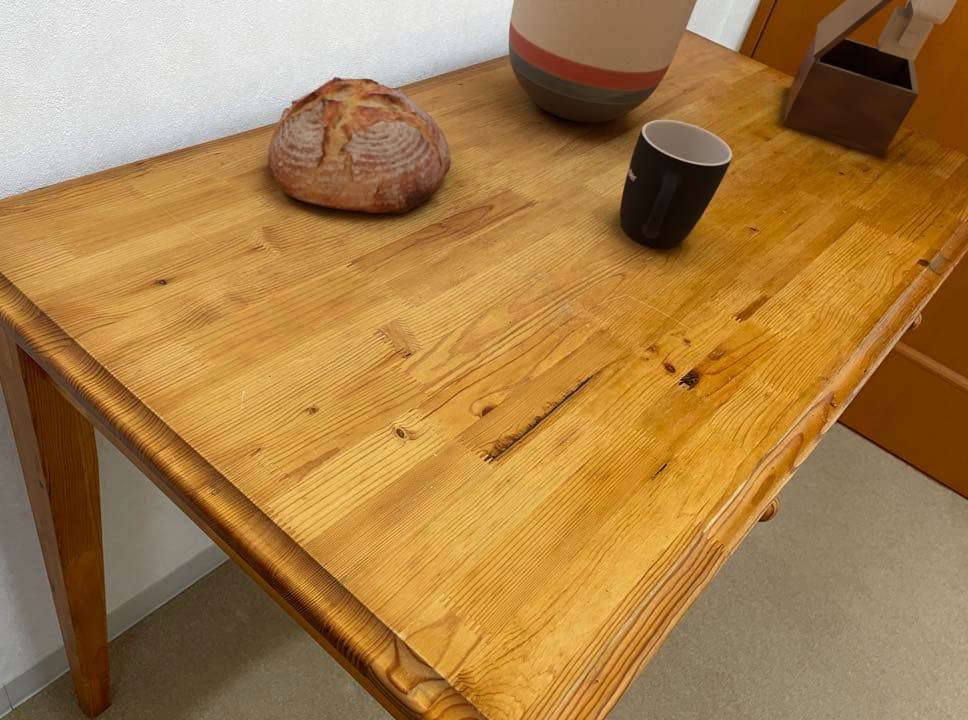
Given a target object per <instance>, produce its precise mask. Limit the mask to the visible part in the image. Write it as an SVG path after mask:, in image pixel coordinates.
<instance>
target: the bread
mask: <svg viewBox="0 0 968 720" xmlns="http://www.w3.org/2000/svg"><path fill="white" fill-rule="evenodd" d="M446 138H447V137H446V136H445V134H444V132H443V130H442V128H441V127H440V126H439V124H438V122H437V121H436V120H435V119H434V118H433V116H432V115H430V114H429V113H428V112H427V111H426V110H425V109H423V108H422V107H421V106H420V105H419V104H417V102H415V101H413V100H412V99H411V98H410V97H409V95H407V94H406V92H405V91H404V90H402V89H401V88H394V87H393V88H392V87H389V86H386V85H384V84H380V83H379V82H377V81H375V80H374V79H372V78H348V77H347V78H345V77H344V78H341V77H338V76H334V77H333V78H332V79H329V80H328V81H326V82H324V83H323V84H322V85H320V86H319V87H318V88H316V89H314V90H313V91H311V92H307V93H306V94H304V95H302V96H301V97H300V98H297V99H294V100H292V101H291V106H289V107H286V108H285V109H283V111H282V113H281V115H280V118H279V120H278V122H277V123H276V125H275V129H274V131H273V132H272V136H271V138H270V142H269V143H270V144H269V147H268V151H267V152H268V155H267V163H268V166H269V168H270V171H271V173H272V175H273V180H274V181H275V183H276V185H277V187H278V188H279V189H280V190H281V191H282V192H283V193H284V194H287V195H288V196H290V197H292V198H294V199H296V200H298V201H301V202H305V203H307V204H311V205H315V206H318V207H322V208H329V209H334V210H343V211H352V212H363V213H366V214H395V215H396V214H398V215H402V214H406V213H407V212H408V211H409V210H411V209H413V208H415V207H417V206H419V205H421V204H422V203H423V202H424V201H426V200H427V199H429V198H430V197H431V196H432V195H433V194H434V193H435V191H436V190H437V189H438V188H439V186H440V185H441V183H442V182H443V180H444V177H445V176H446V175H447V174H448V172H449V171H450V168H451V164H452V158H451V153H450V148H449V144H448V141H447V139H446Z"/></svg>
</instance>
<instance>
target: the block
mask: <svg viewBox="0 0 968 720" xmlns="http://www.w3.org/2000/svg"><path fill="white" fill-rule="evenodd" d="M912 13H913V11H912V10H908V9H905V7H901V6H899V5H896V6H895V8H894V10H893V12H892V14H891V16H890V18H889V19H888V21H887V23H886V25H885V27H884V29H883V30H882V33H881V34H880V36H879V38H878V40H877V43H878V45H877V46H878V47H877V48H879V51H881V52H885V53H888V54H891V55H894V56H898V57H901V58H904V59H907V60H911V61H915V60H916V58H917V56H918V55H919V53H920V51H921V50H922V47H923V46H924V44H925V42H926V41H927V39H928V37H929V35H930V33H931V32H932V30H933V28H934V26H935V25H934V23H931V22H929V23H928V25H927V26H926V27H925V28H924V30H923V31H922V32H921V33H920V34H919V36H918V37H917V39H916V41H915V43H914V44H913V46H912V47H911V48H906V47H903V46H900V45H899V44H898V39H899V37H900V35H901V33H902V31H903V29H904V28H905V27H906V25H907V24H908V22H909V20H910V18H911V15H912Z"/></svg>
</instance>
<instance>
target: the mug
mask: <svg viewBox="0 0 968 720" xmlns="http://www.w3.org/2000/svg"><path fill="white" fill-rule="evenodd" d="M732 160H733V151H732V149H731V148H730V146H729V145H728V144H727V142H725V141H724V140H723V139H722V138H720V137H719V136H717V135H716V134H714V133H713V132H711V131H708V130H706V129H704V128H702V127H700V126H697V125H694V124H690V123H687V122H682V121H679V120H672V119H657V120H656V119H655V120H651V121H649V122H647V123H645V124H644V125H643V126H642V128H641V130H640V132H639V134H638V137H637V140H636V143H635V146H634V149H633V152H632V156H631V160H630V163H629V166H628V170H627V173H626V177H625V181H624V185H623V190H622V195H621V201H620V207H619V223H620V227H621V229H622V230H623V232H624V234H625V235H627V236H628V237H629V238H630V239H631V240H633V241H635V242H637V243H638V244H641V245H643V246H646V247H648V248H653V249H658V250H659V249H661V250H662V249H663V250H665V249H666V250H667V249H673V248H675V247H677V246H678V245H680V244H681V243H682V242H683V241H685V239H686V238H687V237H688V236H689V235H690V234H691V232H692V231H693V230H694V228H695V226H696V225H697V224H698V222H699V221H700V220H701V218H702V216H703V215H704V213H705V212H706V210H707V208H708V206H709V205H710V203H711V201H712V200H713V198H714V196H715V194H716V192H717V191H718V190H719V189H718V188H719V187H720V185H721V183H722V182H723V179H724V177H725V175H726V173H727V171H728V169H729V166H730V164H731V162H732Z"/></svg>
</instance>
